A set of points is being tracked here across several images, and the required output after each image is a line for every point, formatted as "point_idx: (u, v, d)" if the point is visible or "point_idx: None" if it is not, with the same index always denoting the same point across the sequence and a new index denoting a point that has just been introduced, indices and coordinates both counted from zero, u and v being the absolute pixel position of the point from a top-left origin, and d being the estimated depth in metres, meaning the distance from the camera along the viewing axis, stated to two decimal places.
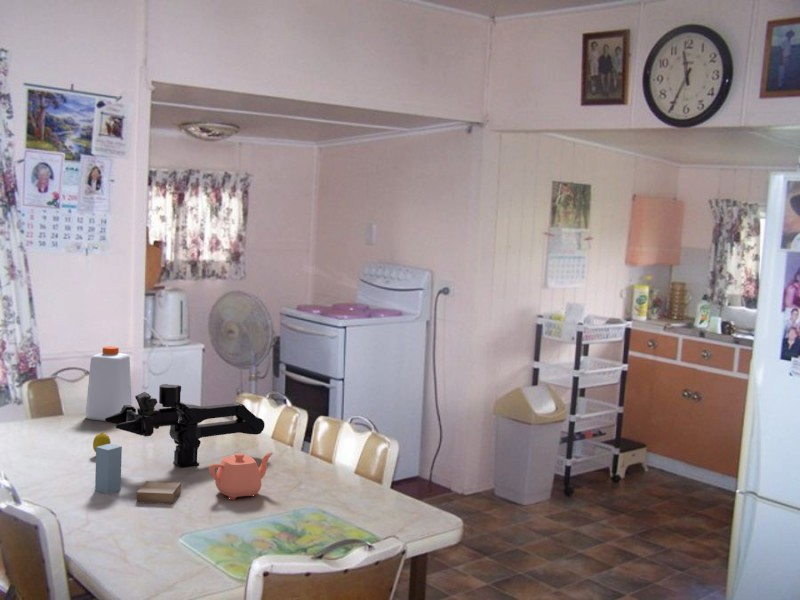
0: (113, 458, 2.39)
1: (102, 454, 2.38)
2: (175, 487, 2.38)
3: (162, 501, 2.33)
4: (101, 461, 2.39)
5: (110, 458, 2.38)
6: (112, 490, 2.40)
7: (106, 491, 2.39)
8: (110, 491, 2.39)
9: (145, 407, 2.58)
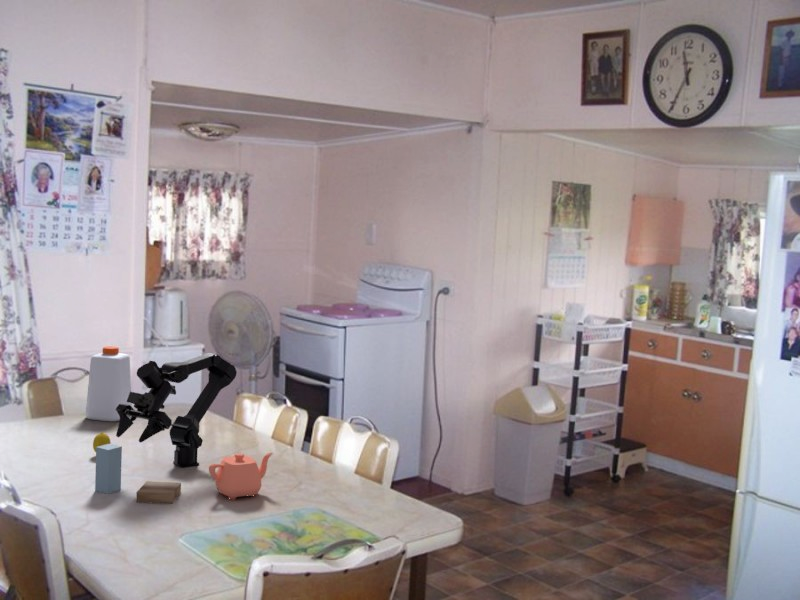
0: (113, 458, 2.39)
1: (103, 454, 2.38)
2: (175, 487, 2.38)
3: (162, 501, 2.33)
4: (101, 461, 2.39)
5: (110, 458, 2.38)
6: (112, 490, 2.40)
7: (106, 491, 2.39)
8: (110, 491, 2.39)
9: (145, 404, 2.49)
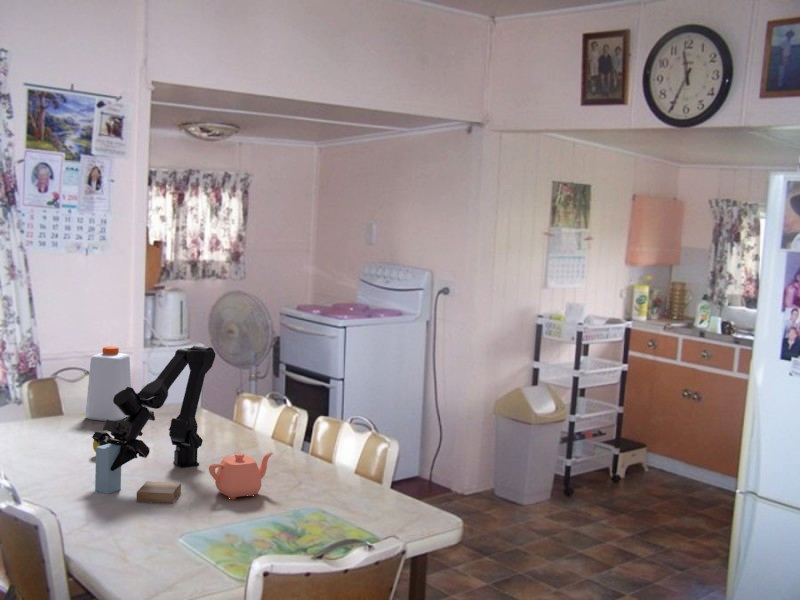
0: (113, 458, 2.39)
1: (102, 454, 2.38)
2: (175, 487, 2.38)
3: (162, 501, 2.33)
4: (101, 461, 2.39)
5: (110, 458, 2.38)
6: (112, 490, 2.40)
7: (106, 491, 2.39)
8: (110, 491, 2.39)
9: (121, 433, 2.41)
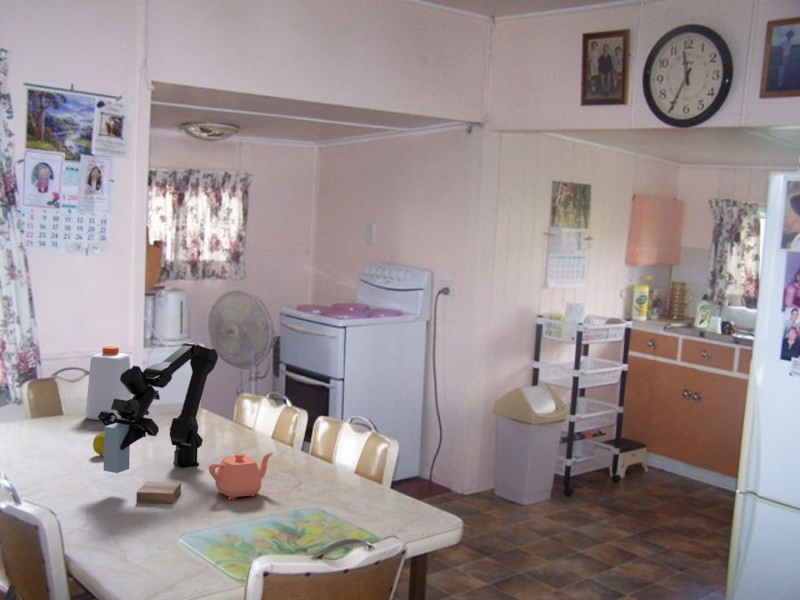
0: (122, 437, 2.37)
1: (112, 433, 2.36)
2: (175, 487, 2.38)
3: (162, 501, 2.33)
4: (110, 441, 2.37)
5: (119, 437, 2.36)
6: (121, 469, 2.38)
7: (116, 470, 2.37)
8: (119, 470, 2.38)
9: (130, 411, 2.40)
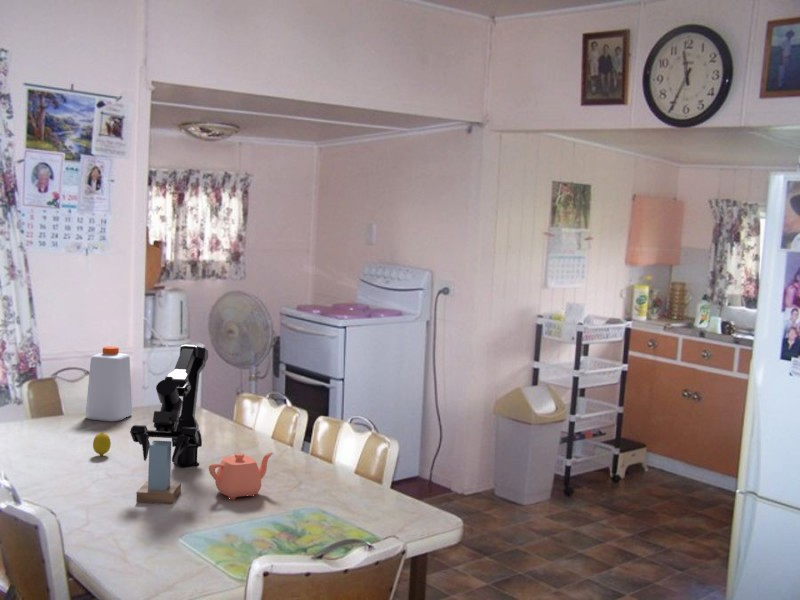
0: (168, 454, 2.36)
1: (159, 451, 2.34)
2: (175, 487, 2.38)
3: (162, 501, 2.33)
4: (157, 459, 2.34)
5: (167, 454, 2.35)
6: (167, 486, 2.37)
7: (164, 488, 2.35)
8: (166, 487, 2.36)
9: (171, 422, 2.38)
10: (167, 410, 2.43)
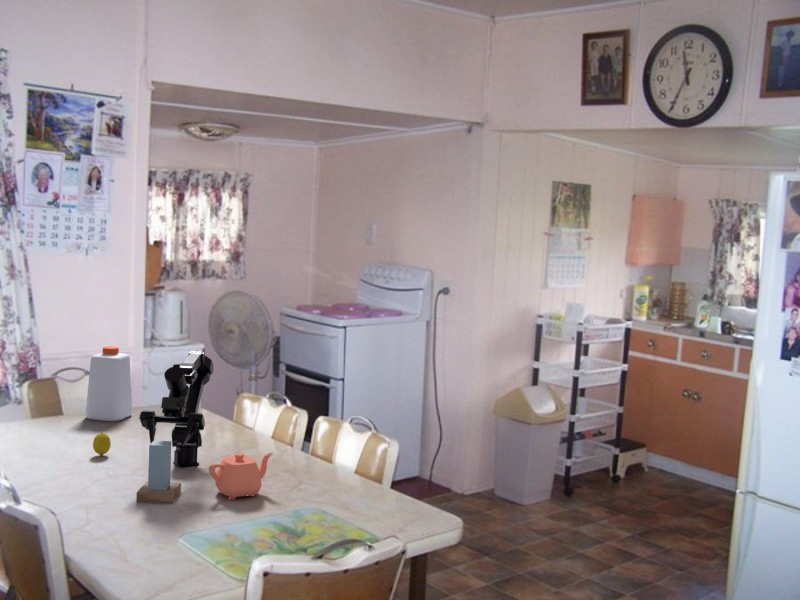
0: (168, 454, 2.36)
1: (159, 451, 2.34)
2: (175, 487, 2.38)
3: (162, 501, 2.33)
4: (157, 459, 2.34)
5: (167, 454, 2.35)
6: (167, 486, 2.37)
7: (164, 488, 2.35)
8: (166, 487, 2.36)
9: (179, 408, 2.47)
10: (175, 396, 2.52)
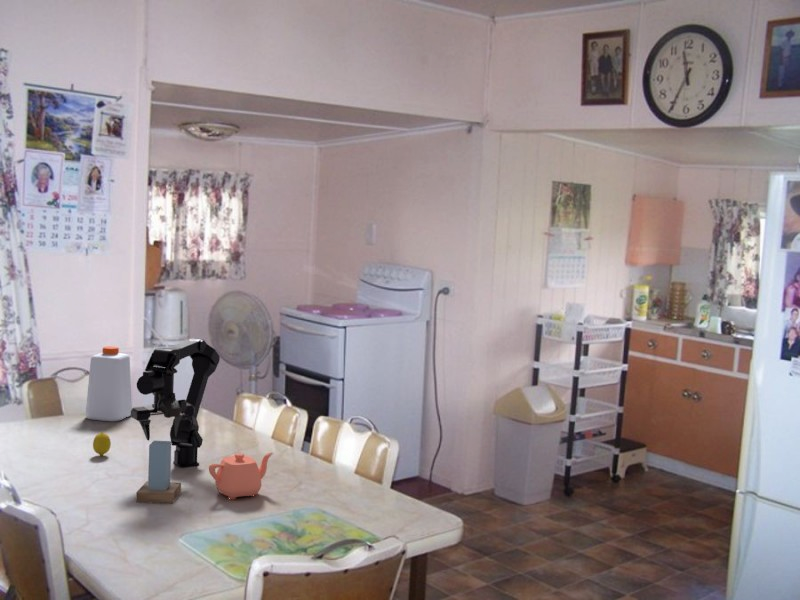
0: (168, 454, 2.36)
1: (159, 451, 2.34)
2: (175, 487, 2.38)
3: (162, 501, 2.33)
4: (157, 459, 2.34)
5: (167, 454, 2.35)
6: (167, 486, 2.37)
7: (164, 488, 2.35)
8: (166, 487, 2.36)
9: None
10: (167, 392, 2.53)
